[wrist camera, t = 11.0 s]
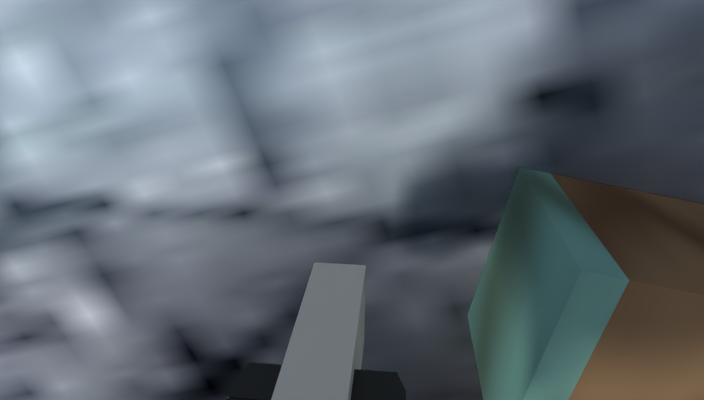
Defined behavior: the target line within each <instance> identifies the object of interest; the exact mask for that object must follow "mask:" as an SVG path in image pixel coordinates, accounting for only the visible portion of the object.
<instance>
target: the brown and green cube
mask: <svg viewBox="0 0 704 400" xmlns="http://www.w3.org/2000/svg"><path fill="white" fill-rule="evenodd" d="M467 316H468V322H469V327H470V332H471V338H472V343H473V349H474V354H475V359H476V365H477V370H478V375H479V381H480V386H481V391H482V397H483V400H704V204H701V203H696V202H691V201H686V200H681V199H676V198H671V197H666V196H661V195H656V194H651V193H646V192H641V191H636V190H631V189H626V188H621V187H616V186H611V185H606V184H601V183H596V182H591V181H586V180H581V179H576V178H571V177H566V176H561V175H556V174H551V173H546V172H541V171H536V170H531V169H526V168H521V167H519V169H518V172H517V175H516V178H515V181H514V184H513V186H512V189H511V192H510V195H509V198H508V201H507V204H506V206H505V209H504V212H503V215H502V218H501V221H500V224H499V227H498V229H497V232H496V235H495V238H494V241H493V244H492V247H491V249H490V252H489V255H488V258H487V261H486V264H485V267H484V269H483V272H482V275H481V278H480V281H479V284H478V287H477V289H476V292H475V295H474V298H473V301H472V304H471V307H470V309H469V312H468V315H467Z"/></svg>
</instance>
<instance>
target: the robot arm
mask: <svg viewBox="0 0 704 400" xmlns="http://www.w3.org/2000/svg"><path fill="white" fill-rule="evenodd" d="M365 285H366V265H351V264H333V263H316V262H314V265H313V268H312V272H311V275H310V278H309V281H308V284H307V287H306V291H305V294H304V297H303V300H302V303H301V306H300V310H299V313H298V316H297V319H296V322H295V326H294V329H293V332H292V335H291V338H290V341H289V345H288V348H287V351H286V354H285V357H284V360H283V364H282V365H275V364H262V363H249V364H248V365H247V366H246V367H245V368H244V369H243V370H242V371H241V372H240V373H239V374H238V375H237V376H236V377H235V379H234V381H233V383H232V386H231V388H230V391H229V393H228V395H227V400H406V390H405V388H404V386H403V384H402V382H401V380H400V378H399V376H398V374H397V372H384V371H371V370H361V366H362V357H363V348H364V338H365Z"/></svg>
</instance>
